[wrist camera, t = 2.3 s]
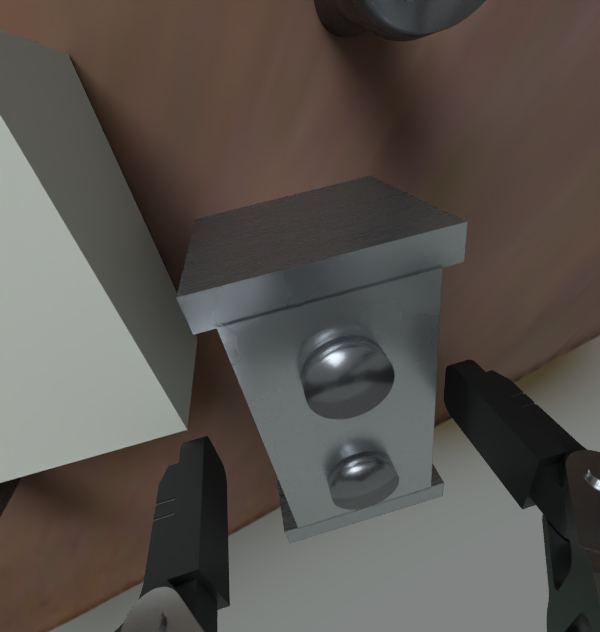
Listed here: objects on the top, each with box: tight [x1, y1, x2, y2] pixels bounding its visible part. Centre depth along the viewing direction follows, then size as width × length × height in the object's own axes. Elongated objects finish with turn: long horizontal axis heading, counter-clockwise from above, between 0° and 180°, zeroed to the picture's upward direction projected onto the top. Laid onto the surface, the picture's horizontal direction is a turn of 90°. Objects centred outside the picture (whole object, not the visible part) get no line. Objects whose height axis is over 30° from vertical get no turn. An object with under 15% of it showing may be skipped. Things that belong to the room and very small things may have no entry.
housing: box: [176, 176, 467, 543], centre depth 13 cm, size 7×12×7 cm, turn 12°
